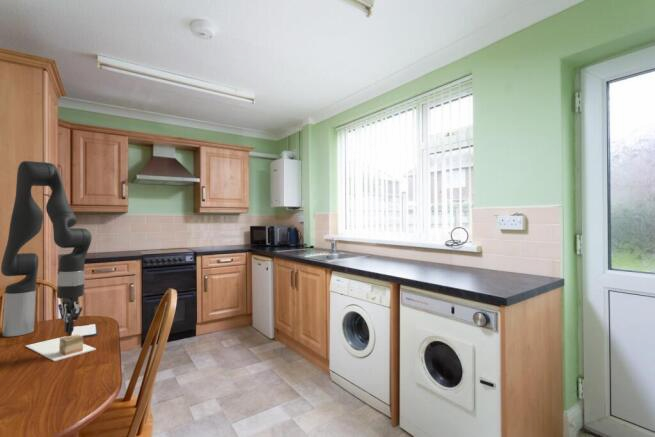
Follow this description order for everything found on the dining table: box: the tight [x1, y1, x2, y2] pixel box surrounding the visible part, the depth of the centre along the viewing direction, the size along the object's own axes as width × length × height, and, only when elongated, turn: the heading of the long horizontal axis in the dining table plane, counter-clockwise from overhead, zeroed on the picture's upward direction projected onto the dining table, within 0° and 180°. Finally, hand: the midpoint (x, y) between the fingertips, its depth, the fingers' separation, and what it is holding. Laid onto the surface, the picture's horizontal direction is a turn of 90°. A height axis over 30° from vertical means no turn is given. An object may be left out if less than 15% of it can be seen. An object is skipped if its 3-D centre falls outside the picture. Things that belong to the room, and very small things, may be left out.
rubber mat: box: [25, 336, 97, 362], centre depth 114 cm, size 25×12×1 cm, turn 60°
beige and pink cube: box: [59, 334, 84, 356], centre depth 110 cm, size 5×5×5 cm
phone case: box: [70, 323, 98, 339], centre depth 132 cm, size 9×2×16 cm
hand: (68, 332), depth 111 cm, fingers closed
